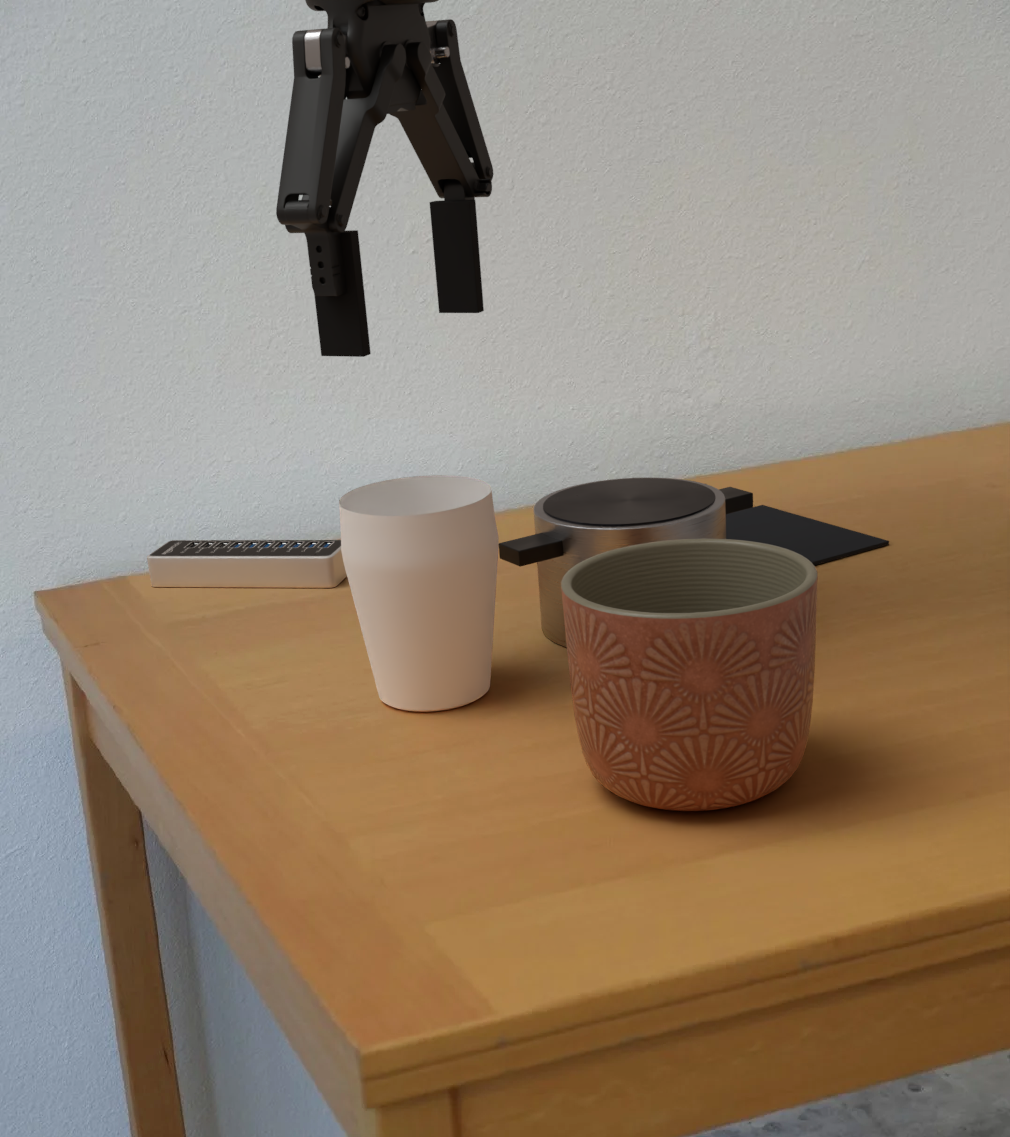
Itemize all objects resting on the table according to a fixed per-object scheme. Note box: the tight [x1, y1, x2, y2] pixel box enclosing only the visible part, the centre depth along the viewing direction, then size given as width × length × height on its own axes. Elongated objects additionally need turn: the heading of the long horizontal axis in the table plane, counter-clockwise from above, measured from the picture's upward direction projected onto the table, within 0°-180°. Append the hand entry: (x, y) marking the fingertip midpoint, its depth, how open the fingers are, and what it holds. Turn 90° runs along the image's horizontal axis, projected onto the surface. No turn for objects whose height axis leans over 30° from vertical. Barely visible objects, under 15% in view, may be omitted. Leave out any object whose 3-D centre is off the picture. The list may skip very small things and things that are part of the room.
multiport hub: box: [146, 539, 348, 589], centre depth 125 cm, size 4×14×2 cm, turn 76°
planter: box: [561, 539, 819, 812], centre depth 85 cm, size 12×12×11 cm
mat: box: [726, 504, 890, 566], centre depth 124 cm, size 14×14×1 cm
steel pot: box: [498, 477, 754, 648], centre depth 108 cm, size 12×18×8 cm, turn 122°
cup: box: [338, 474, 500, 713], centre depth 99 cm, size 9×9×12 cm
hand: (406, 333), depth 99 cm, fingers open, 13 cm apart
